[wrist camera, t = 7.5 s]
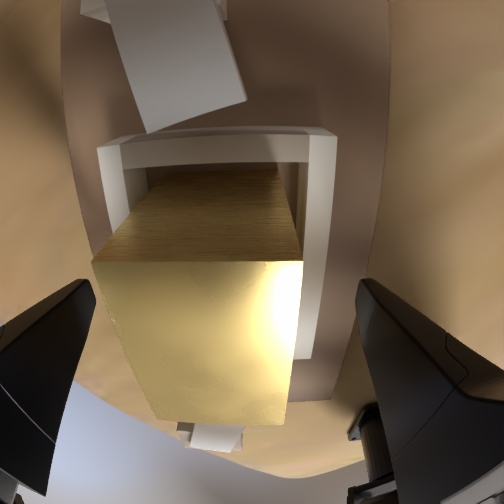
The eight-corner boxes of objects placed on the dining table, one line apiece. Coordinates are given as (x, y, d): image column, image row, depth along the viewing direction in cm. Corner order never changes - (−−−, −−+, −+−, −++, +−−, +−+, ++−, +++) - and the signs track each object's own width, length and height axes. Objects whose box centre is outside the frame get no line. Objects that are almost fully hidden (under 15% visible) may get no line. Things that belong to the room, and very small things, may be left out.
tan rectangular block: (166, 172, 10) (91, 261, 5) (278, 169, 10) (303, 260, 5) (185, 303, 14) (157, 419, 8) (274, 303, 14) (283, 424, 8)
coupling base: (327, 381, 19) (339, 453, 14) (153, 380, 19) (136, 449, 14) (371, -25, 7) (439, -73, 3) (81, -6, 8) (-3, -30, 3)
